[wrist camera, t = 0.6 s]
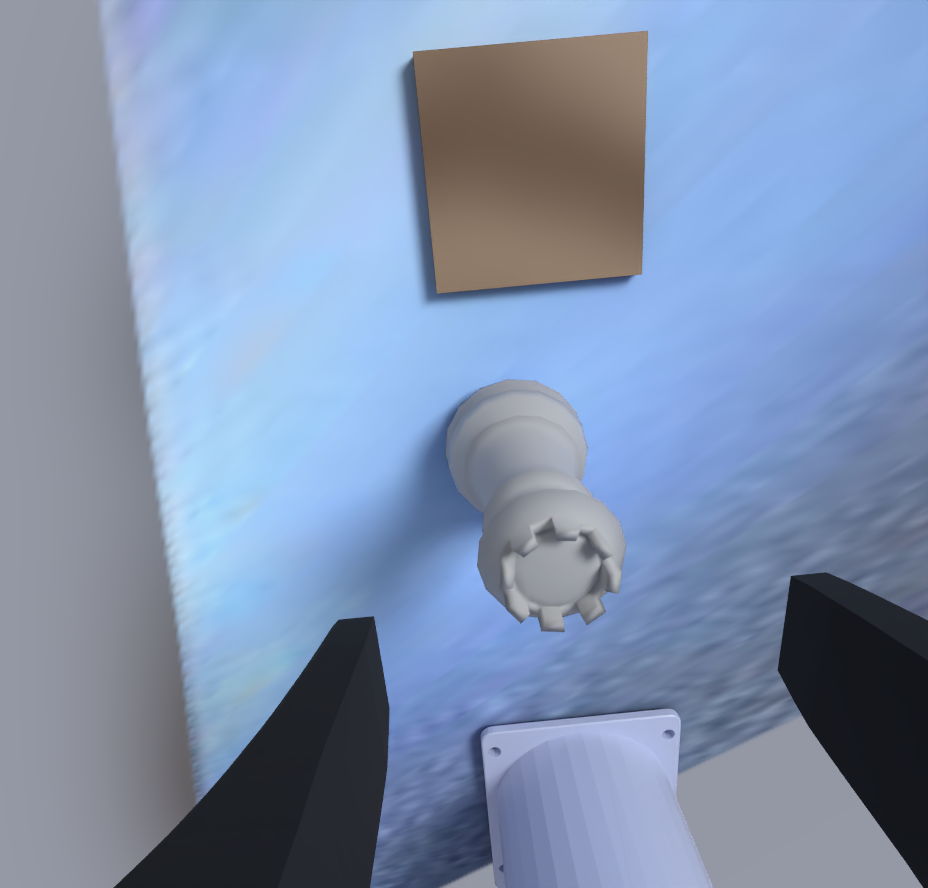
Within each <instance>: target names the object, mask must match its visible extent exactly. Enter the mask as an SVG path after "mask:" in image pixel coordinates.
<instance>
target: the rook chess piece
mask: <svg viewBox="0 0 928 888" xmlns="http://www.w3.org/2000/svg"><path fill="white" fill-rule="evenodd" d="M587 449H588V447H587V443H586V439H585V436H584V432H583V429H582V425H581V422H580V421H579V420H578V416H577V413H576V411H575V410H574V409H573V408H572V407H571V405H570V404H569V403H568V402H567V401H566V400H565V398H564V397H563V396H562V395H561V394H560V393H559V392H557V391H555V390H553V389H551V388H549V387H547V386H545V385H543V384H541V383H539V382H537V381H528V380H510V379H507V380H504V381H501V382H498V383H495V384H492V385H489V386H486V387H483V388H480V389H479V390H478V391H477V392H476V393H474V394H473V395H472V396H471V397H470V398H469V399H467V400H466V401H465V402H464V403H463V404H461V405H460V406H459V408H458V410H457V412H456V414H455V416H454V418H453V419H452V421H451V423H450V425H449V427H448V429H447V438H446V455H445V456H446V458H447V461H448V467H449V470H450V472H451V475H452V478H453V480H454V483H455V485H456V488H457V490H458V491H459V492H460V493H461V494H462V495H463V496H464V497H465V498H466V499H467V500H468V501H469V502H470V504H471V505H472V506H473V507H474V508H475V509H476V510H477V511H480V512H482V513H484V517H483V528H482V531H483V535H482V537H481V539H480V541H479V551H478V562H477V567H478V570H479V572H480V575H481V578H482V580H483V583H484V585H485V588H486V590H487V591H488V592H489V593H490V594H491V595H492V596H494V597H495V598H496V599H497V600H498V601H499V602H500V603H501V604H502V605H503V606H504V607H506V610H507V611H508V612H510V613H511V614H512V615H513V616H514V617H515V618H516V619H517V620H518V621H519V622H520V623H522V622H523V621H524V620H525V619H526V618H527V617H528V616H529V617H538V620H539V623H540V627H541V631H548V632H565V631H564V620H563V617H566V616H569V615H572V614H575V613H579V612H580V614H581V616H582V618H583V619H584V621H585V623H586V624H587V625H588V624H589V623H591V622H592V621H594V620H595V619H596V618H598V617H599V616H601V615H602V614H604V613H605V612H606V611H605V609H604V606H603V604H602V602H601V599H600V598H601V597H603V596H604V595H605V594H606V593H607V592H612V593H617V594H618V592H619V587H620V582H621V576H622V572H621V571H622V566H623V560H624V555H625V550H626V543H625V539H624V536H623V532H622V528H621V525H620V521H619V520H618V519H617V518H616V517H615V516H614V515H613V513H612V512H611V511H610V510H609V509H608V508H607V507H606V506H605V504H604V503H603V502H602V501H599V500H597V499H595V498H593V495H592V494H591V493H590V492H589V490H588V489H587V488H586V487H585V486H584V485H583V484H582V483H581V482H580V481H581V480H582V478H583V476H584V470H585V463H586V457H587Z"/></svg>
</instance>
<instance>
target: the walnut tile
mask: <svg viewBox="0 0 928 888" xmlns="http://www.w3.org/2000/svg"><path fill="white" fill-rule="evenodd" d="M647 49H648V31H641V32H629V33H618V34H607V35H595V36H584V37H573V38H561V39H550V40H539V41H527V42H516V43H505V44H494V45H482V46H471V47H460V48H448V49H437V50H426V51H414V52H413V59H414V69H415V79H416V89H417V99H418V109H419V119H420V129H421V139H422V149H423V159H424V169H425V179H426V189H427V199H428V209H429V219H430V229H431V239H432V249H433V259H434V269H435V279H436V289H437V293H448V292H459V291H469V290H480V289H491V288H501V287H512V286H523V285H533V284H544V283H555V282H565V281H576V280H587V279H597V278H608V277H619V276H629V275H640V274H642V250H643V210H644V170H645V129H646V89H647Z"/></svg>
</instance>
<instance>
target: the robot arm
mask: <svg viewBox="0 0 928 888" xmlns="http://www.w3.org/2000/svg"><path fill="white" fill-rule="evenodd" d="M778 672H779V673H780V675H781V677H782V679H783V681H784V683H785V685H786V687H787V689H788V691H789V692H790V694H791V696H792V698H793V700H794V702H795V704H796V705H797V707H798V709H799V711H800V712H801V714H802V716H803V718H804V719H805V721H806V723H807V724H808V726H809V728H810V729H811V731H812V732H813V734H814V735H815V736H816V738H817V739H818V741H819V742H820V744H821V745H822V746H823V748H824V749H825V751H826V752H827V753H828V755H829V756H830V758H831V759H832V760H833V762H834V763H835V765H836V766H837V767H838V769H839V770H840V772H841V773H842V774H843V776H844V777H845V779H846V780H847V781H848V783H849V784H850V786H851V787H852V788H853V790H854V791H855V792H856V794H857V795H858V797H859V798H860V799H861V801H862V802H863V803H864V805H865V806H866V808H867V809H868V810H869V811H870V813H871V814H872V816H873V817H874V818H875V820H876V821H877V823H878V824H879V825H880V827H881V828H882V830H883V831H884V832H885V834H886V835H887V836H888V838H889V839H890V841H891V842H892V843H893V845H894V846H895V848H896V849H897V850H898V851H899V853H900V855H901V856H902V857H903V859H904V860H905V861H906V863H907V864H908V866H909V867H910V869H911V870H912V872H913V873H914V875H915V876H916V878H917V879H918V880H919V882H920V883H921V885H922V886H923V888H928V620H926V619H924V618H922V617H920V616H918V615H916V614H914V613H912V612H910V611H907V610H905V609H903V608H901V607H899V606H897V605H895V604H893V603H891V602H889V601H887V600H885V599H883V598H881V597H879V596H877V595H875V594H873V593H871V592H869V591H867V590H865V589H862V588H860V587H858V586H856V585H854V584H852V583H850V582H847V581H845V580H843V579H841V578H838V577H836V576H833V575H831V574H829V573H816V574H806V575H796V576H791V579H790V587H789V594H788V601H787V608H786V615H785V622H784V629H783V637H782V644H781V651H780V658H779V665H778ZM680 728H681V721H680V718H679V716H678V714H677V713H676V711H674V710H672V709H658V710H648V711H638V712H629V713H619V714H609V715H599V716H589V717H579V718H569V719H559V720H549V721H539V722H529V723H519V724H509V725H500V726H491V727H487V728H486V729H484V730H483V731H482V733H481V747H482V757H483V767H484V777H485V787H486V797H487V807H488V818H489V828H490V838H491V848H492V858H493V867H494V877H495V884H496V886H497V887H498V888H713V886H712V884H711V882H710V879H709V877H708V874H707V872H706V870H705V867H704V865H703V862H702V860H701V857H700V855H699V853H698V850H697V848H696V845H695V843H694V840H693V838H692V836H691V833H690V831H689V828H688V826H687V823H686V821H685V818H684V816H683V814H682V811H681V809H680V806H679V804H678V801H677V799H676V788H677V773H678V758H679V743H680ZM665 730H668V731H665ZM388 736H389V703H388V697H387V691H386V685H385V679H384V673H383V667H382V661H381V656H380V650H379V644H378V638H377V632H376V626H375V620H374V616H373V617H363V618H352V619H342V620H338V621H337V622H336V623H335V624H334V625H333V627H332V628H331V630H330V631H329V633H328V634H327V636H326V637H325V639H324V641H323V642H322V644H321V645H320V647H319V648H318V650H317V651H316V653H315V654H314V656H313V657H312V659H311V660H310V662H309V663H308V665H307V666H306V667H305V669H304V670H303V672H302V673H301V675H300V676H299V678H298V679H297V680H296V682H295V683H294V685H293V686H292V687H291V689H290V690H289V692H288V693H287V694H286V696H285V697H284V698H283V700H282V701H281V703H280V704H279V705H278V707H277V708H276V709H275V711H274V712H273V713H272V715H271V716H270V717H269V719H268V720H267V721H266V723H265V724H264V725H263V727H262V728H261V729H260V730H259V732H258V733H257V734H256V735H255V736H254V738H253V739H252V740H251V741H250V743H249V744H248V745H247V746H246V748H245V749H244V750H243V751H242V753H241V754H240V755H239V756H238V758H237V759H236V760H235V761H234V763H233V764H232V765H231V766H230V767H229V769H228V770H227V771H226V772H225V773H224V774H223V776H222V777H221V778H220V779H219V780H218V781H217V782H216V784H215V785H214V786H213V787H212V788H211V789H210V790H209V792H208V793H207V794H206V795H205V796H204V797H203V798H202V799H201V801H200V802H199V803H198V804H197V805H196V806H195V807H194V808H193V809H192V810H191V811H190V812H189V813H188V814H187V816H186V817H185V818H184V819H183V820H182V821H181V822H180V823H179V824H178V825H177V826H176V827H175V828H174V830H172V831H171V833H170V834H169V835H168V836H167V837H166V838H165V839H164V840H163V841H161V843H160V844H158V846H157V847H155V848H154V849H153V850H152V851H151V853H149V854H148V856H146V857H145V858H144V859H143V860H142V861H141V862H140V863H139V864H138V865H137V866H136V867H135V868H134V869H133V870H132V871H131V872H130V873H129V874H128V875H126V877H124V878H123V879H122V880H121V881H120V882H119V883H118V884H117V885H116V886H115V887H114V888H370V883H371V876H372V869H373V863H374V856H375V849H376V842H377V836H378V829H379V822H380V815H381V808H382V801H383V794H384V788H385V780H386V773H387V760H388ZM493 747H497V748H495V749H491V748H493Z"/></svg>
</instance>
